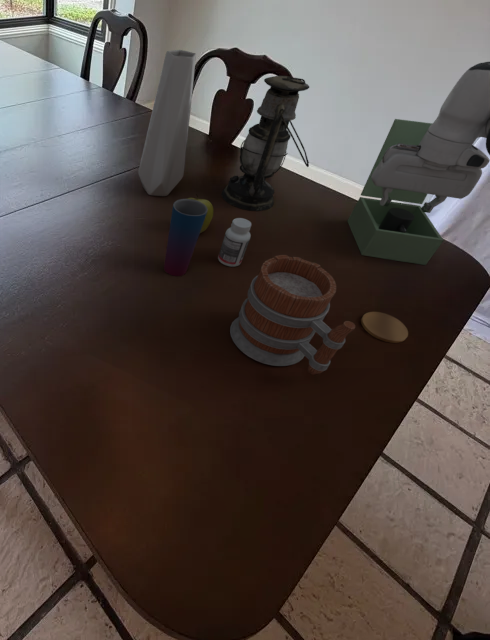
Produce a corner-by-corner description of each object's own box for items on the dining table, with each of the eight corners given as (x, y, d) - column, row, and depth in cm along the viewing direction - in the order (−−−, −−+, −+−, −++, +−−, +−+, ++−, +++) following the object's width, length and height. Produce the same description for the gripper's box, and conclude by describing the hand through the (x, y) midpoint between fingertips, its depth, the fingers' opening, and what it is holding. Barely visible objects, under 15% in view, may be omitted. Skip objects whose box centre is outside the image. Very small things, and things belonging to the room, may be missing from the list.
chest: (425, 265, 104) (444, 240, 99) (361, 255, 105) (376, 230, 101) (404, 229, 115) (420, 205, 110) (347, 220, 117) (359, 196, 112)
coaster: (399, 317, 90) (401, 315, 89) (412, 346, 84) (414, 344, 83) (356, 310, 90) (358, 308, 90) (366, 338, 85) (367, 336, 84)
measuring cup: (371, 231, 112) (386, 206, 107) (394, 234, 111) (410, 209, 106) (379, 249, 106) (396, 223, 101) (404, 252, 106) (421, 227, 101)
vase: (128, 182, 126) (146, 46, 102) (165, 179, 128) (191, 46, 105) (143, 202, 118) (166, 60, 94) (182, 199, 120) (214, 60, 97)
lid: (463, 127, 100) (452, 124, 104) (396, 119, 101) (387, 115, 105) (422, 204, 110) (413, 198, 114) (361, 195, 111) (355, 189, 116)
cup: (167, 256, 100) (180, 195, 90) (194, 267, 98) (212, 205, 87) (154, 271, 96) (167, 208, 85) (183, 282, 94) (200, 219, 83)
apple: (206, 240, 104) (204, 199, 98) (175, 238, 109) (172, 198, 103) (218, 226, 109) (217, 186, 103) (188, 225, 113) (185, 186, 108)
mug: (271, 308, 89) (301, 245, 79) (343, 377, 77) (390, 313, 66) (214, 324, 85) (238, 260, 74) (280, 399, 73) (320, 335, 62)
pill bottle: (230, 251, 103) (243, 214, 96) (246, 264, 100) (260, 226, 93) (212, 257, 101) (224, 218, 94) (227, 269, 98) (241, 231, 91)
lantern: (222, 179, 130) (256, 63, 109) (288, 190, 128) (336, 73, 106) (219, 208, 118) (257, 83, 96) (292, 221, 115) (348, 96, 93)
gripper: (395, 147, 93) (361, 207, 103) (498, 162, 91) (454, 221, 101) (387, 136, 97) (355, 195, 107) (485, 150, 95) (444, 208, 105)
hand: (404, 208), depth 104 cm, fingers open, 8 cm apart
